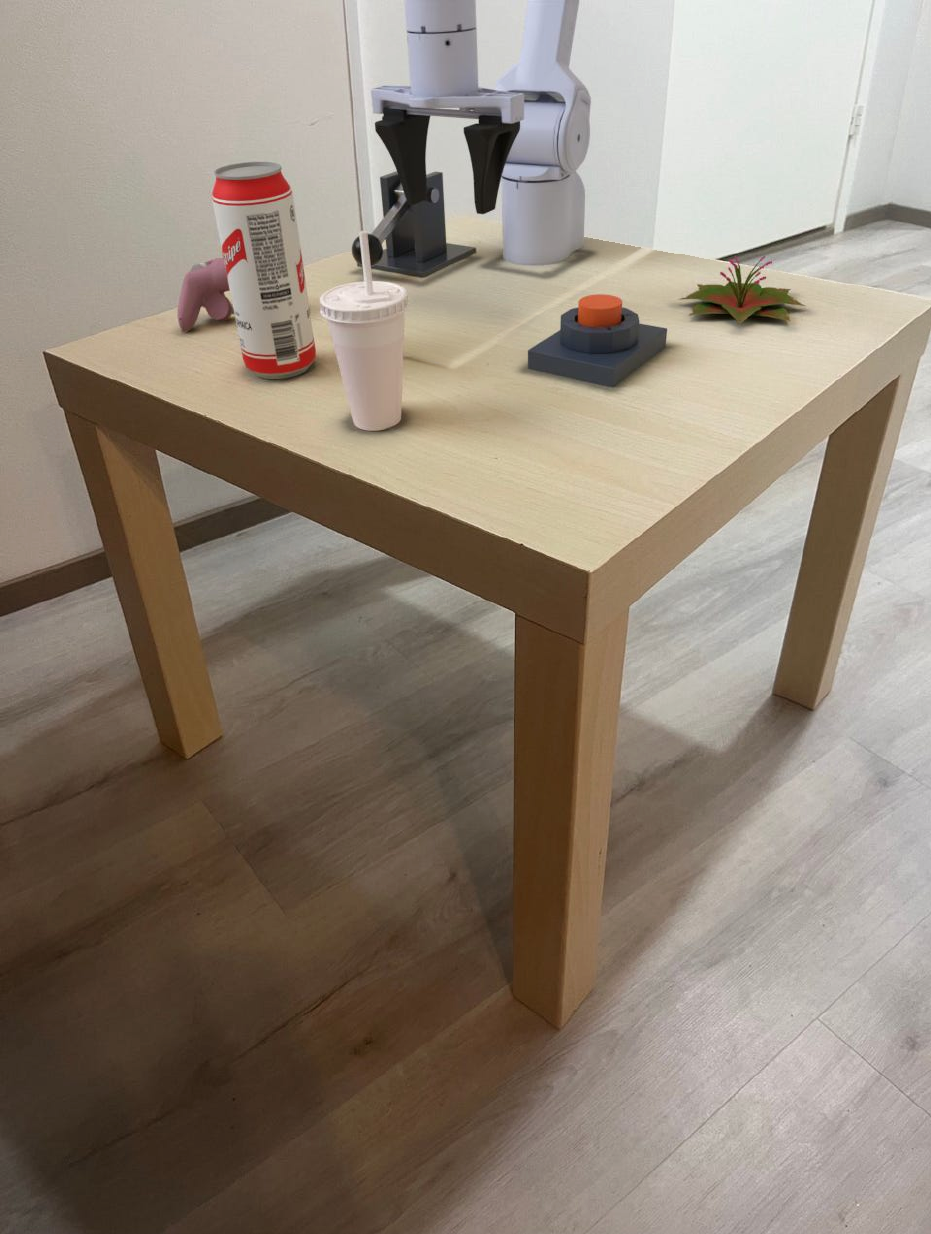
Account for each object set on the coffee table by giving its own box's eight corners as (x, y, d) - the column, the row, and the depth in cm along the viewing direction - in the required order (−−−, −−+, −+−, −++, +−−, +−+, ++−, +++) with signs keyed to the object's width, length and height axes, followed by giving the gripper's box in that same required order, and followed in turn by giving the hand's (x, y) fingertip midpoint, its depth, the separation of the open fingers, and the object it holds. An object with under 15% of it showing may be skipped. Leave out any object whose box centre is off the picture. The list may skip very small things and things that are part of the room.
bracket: (423, 284, 98) (416, 189, 92) (357, 272, 102) (347, 181, 97) (476, 258, 104) (473, 168, 99) (412, 248, 109) (406, 161, 103)
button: (590, 312, 80) (591, 291, 79) (628, 319, 78) (629, 298, 77) (569, 325, 78) (570, 304, 77) (608, 332, 76) (609, 311, 75)
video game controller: (288, 335, 92) (286, 260, 91) (274, 329, 88) (272, 251, 86) (192, 335, 93) (188, 262, 92) (173, 330, 89) (169, 252, 87)
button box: (585, 331, 85) (586, 293, 83) (665, 347, 81) (669, 307, 79) (527, 369, 79) (527, 329, 77) (612, 388, 75) (614, 346, 73)
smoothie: (386, 445, 69) (365, 249, 60) (318, 428, 72) (289, 238, 63) (434, 412, 73) (421, 224, 64) (368, 396, 76) (348, 214, 67)
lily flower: (681, 285, 94) (686, 238, 91) (806, 291, 91) (815, 242, 88) (669, 328, 85) (674, 277, 82) (807, 335, 82) (817, 282, 79)
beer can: (257, 388, 78) (219, 183, 68) (236, 363, 83) (197, 167, 73) (328, 372, 80) (299, 170, 71) (303, 349, 85) (274, 156, 75)
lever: (376, 275, 96) (365, 250, 93) (353, 271, 97) (341, 246, 95) (436, 199, 100) (426, 172, 97) (412, 195, 101) (402, 169, 99)
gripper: (341, 34, 77) (360, 208, 85) (489, 37, 70) (494, 227, 78) (393, 24, 81) (406, 191, 90) (537, 26, 74) (537, 207, 83)
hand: (450, 207), depth 84 cm, fingers open, 7 cm apart
